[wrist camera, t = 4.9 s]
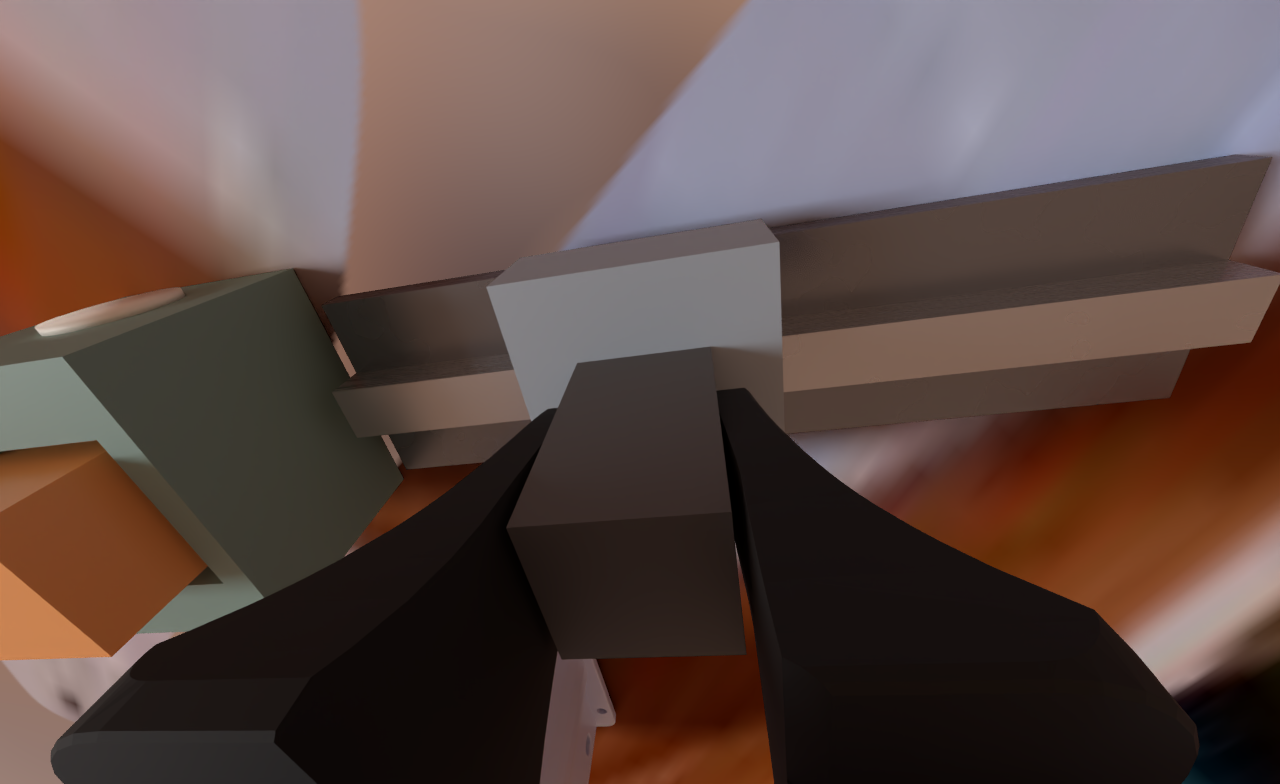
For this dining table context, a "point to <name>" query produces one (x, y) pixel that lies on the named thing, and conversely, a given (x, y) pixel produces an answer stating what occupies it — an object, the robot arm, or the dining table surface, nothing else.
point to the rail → (888, 313)
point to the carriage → (639, 432)
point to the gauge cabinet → (209, 427)
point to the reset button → (81, 554)
